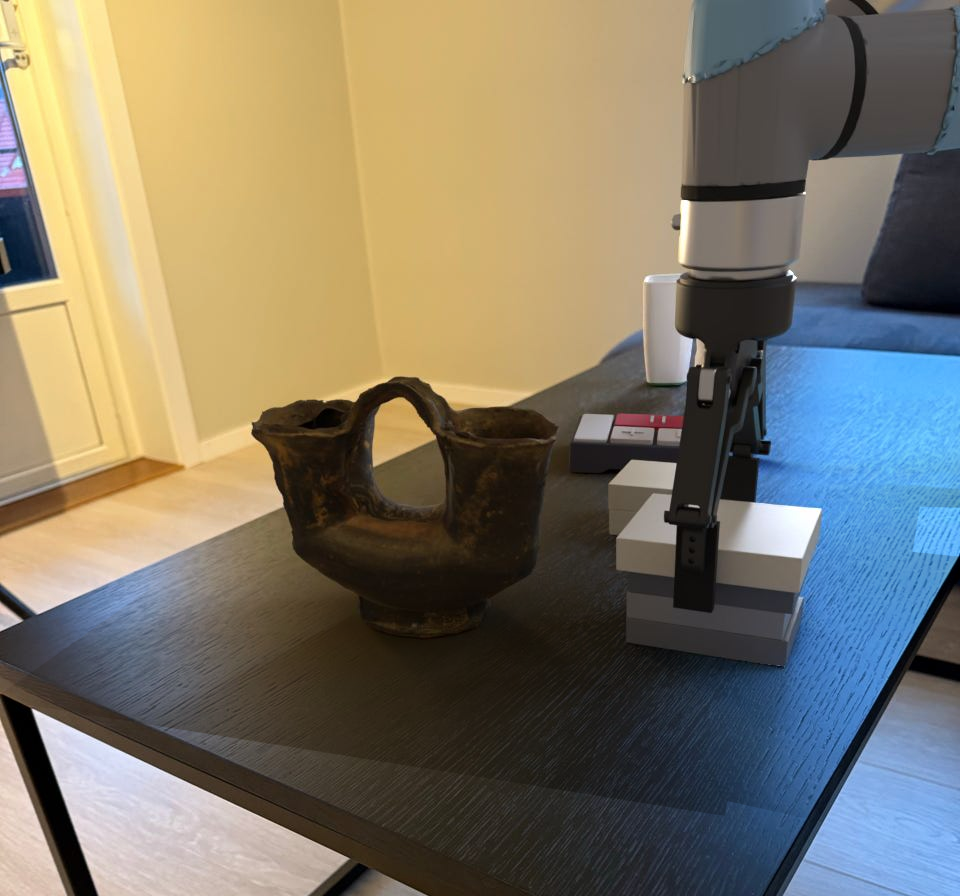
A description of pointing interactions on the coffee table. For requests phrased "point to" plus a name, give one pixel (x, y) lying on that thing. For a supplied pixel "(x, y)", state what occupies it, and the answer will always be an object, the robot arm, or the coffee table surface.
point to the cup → (663, 333)
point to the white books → (636, 490)
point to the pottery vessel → (413, 529)
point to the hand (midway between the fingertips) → (715, 569)
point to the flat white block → (729, 543)
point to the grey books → (715, 621)
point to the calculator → (623, 441)
